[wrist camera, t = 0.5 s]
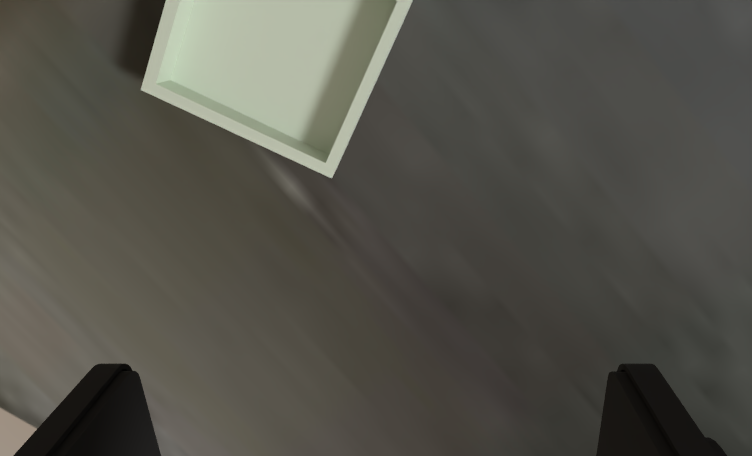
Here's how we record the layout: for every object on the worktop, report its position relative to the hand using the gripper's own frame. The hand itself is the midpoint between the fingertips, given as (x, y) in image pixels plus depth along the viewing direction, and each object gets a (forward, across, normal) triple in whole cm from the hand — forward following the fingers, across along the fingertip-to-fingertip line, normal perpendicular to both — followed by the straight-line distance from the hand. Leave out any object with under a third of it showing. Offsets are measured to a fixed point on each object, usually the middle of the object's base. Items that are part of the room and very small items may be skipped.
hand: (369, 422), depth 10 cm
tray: (+29, +8, -6) cm, 30 cm away
